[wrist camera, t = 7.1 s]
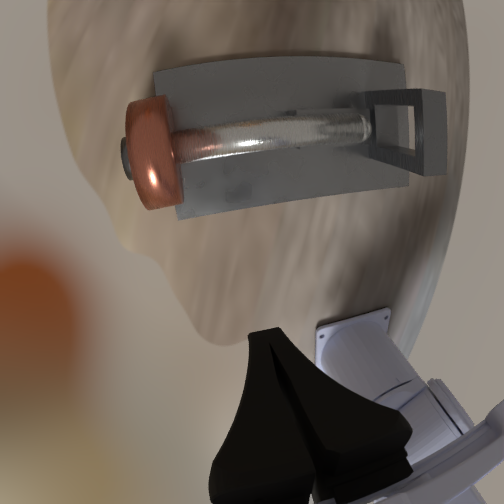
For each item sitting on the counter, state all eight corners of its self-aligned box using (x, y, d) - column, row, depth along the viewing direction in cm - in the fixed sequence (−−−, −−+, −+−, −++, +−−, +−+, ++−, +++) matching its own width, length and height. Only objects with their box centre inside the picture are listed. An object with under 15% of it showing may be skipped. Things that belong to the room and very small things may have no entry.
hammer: (349, 166, 20) (398, 186, 15) (146, 197, 18) (127, 229, 13) (343, 83, 17) (394, 76, 12) (130, 107, 16) (101, 103, 10)
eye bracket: (405, 184, 22) (462, 210, 16) (178, 218, 20) (171, 263, 14) (399, 64, 18) (461, 58, 12) (154, 73, 16) (132, 50, 10)
